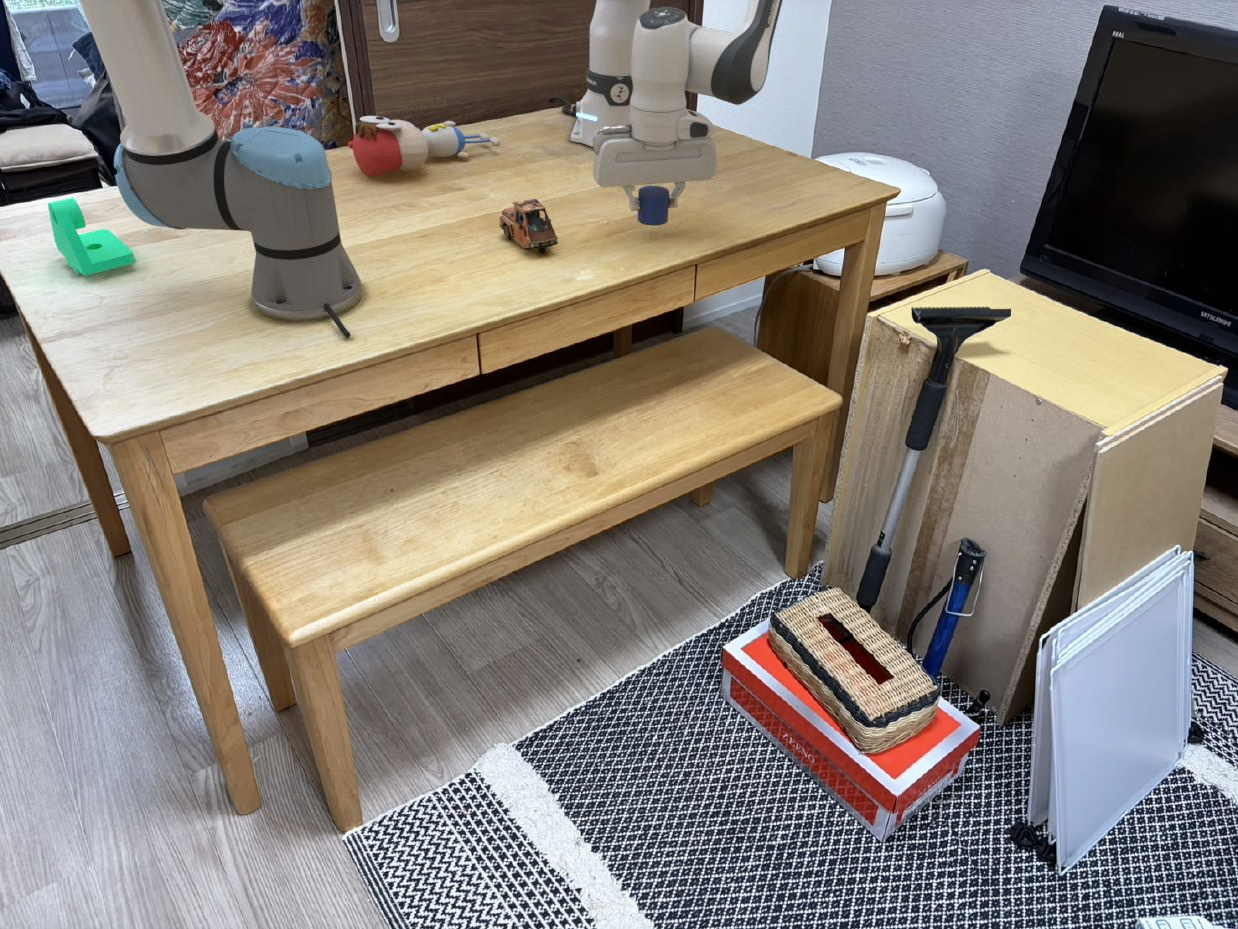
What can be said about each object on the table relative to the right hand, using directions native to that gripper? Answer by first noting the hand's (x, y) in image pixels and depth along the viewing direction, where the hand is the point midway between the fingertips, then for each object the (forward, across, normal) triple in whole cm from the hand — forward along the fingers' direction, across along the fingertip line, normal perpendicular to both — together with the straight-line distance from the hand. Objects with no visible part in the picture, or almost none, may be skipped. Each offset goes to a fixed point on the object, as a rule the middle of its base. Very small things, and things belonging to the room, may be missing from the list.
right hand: (653, 208), depth 154 cm
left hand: (-34, -56, +30) cm, 72 cm away
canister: (+2, 0, 0) cm, 2 cm away
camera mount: (+4, -87, +6) cm, 87 cm away
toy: (+4, -34, +42) cm, 54 cm away
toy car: (+4, -21, 0) cm, 22 cm away
